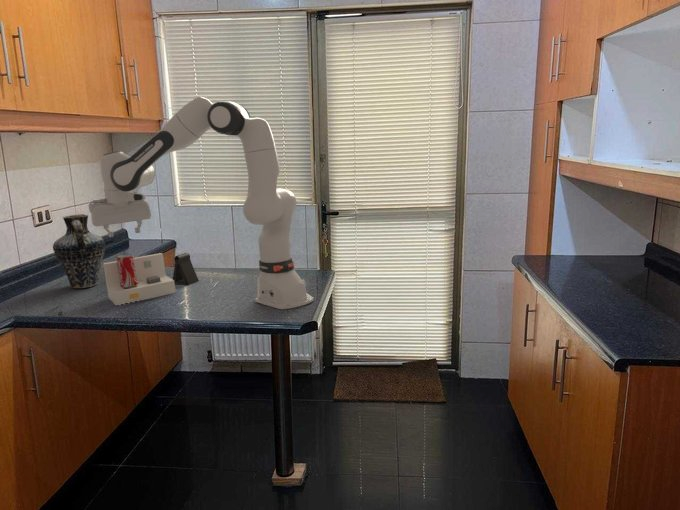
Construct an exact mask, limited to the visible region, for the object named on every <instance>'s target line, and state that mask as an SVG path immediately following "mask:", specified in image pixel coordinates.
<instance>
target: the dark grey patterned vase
mask: <svg viewBox="0 0 680 510" xmlns="http://www.w3.org/2000/svg"><path fill="white" fill-rule="evenodd" d="M62 218H63V221H64V224H65V225H66V231H65V234H64V235H63V236H61V237H60V238H57V239H56V241H54V243H53V244H52V250H53V252H54V255H55V257H56V260H57V261H58V263H59V265H60V266H61V267H62V269H63V271H64V273H65V275H66V277H67V279H68V282H69V285H70V288H72V289H85V288H90V287H93V286H96V285H98V283H99V279H100V277H99V275H100V271H101V267H102V264H103V258H104V256H105V252H106V242H105V240H104V238H103V237H101V236H100V235H97V234H95V233H92V232H90V231H89V228H88V220H89V215H88V214H85V213H84V214H81V213H79V214H71V215H65V216H62Z"/></svg>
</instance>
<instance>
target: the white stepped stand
mask: <svg viewBox="0 0 680 510" xmlns="http://www.w3.org/2000/svg"><path fill="white" fill-rule="evenodd" d="M164 258H165V257H164V254H163V252H161V253H160V252H159V253H154V254H149V255H143V256H137V257H134V259H135V266H136V273H137V279H138V284H137V285H136V286H135V287H133V288H129V289H124V288H123V287H121V286H120V280H119V274H118V268H117V260H115V261H109V262H104V263H103V262H102V265H103V271H104V276H105V283H106V290H107V295H108V299H109V300H110V301H111V302H112V303H113V304H114V305H115V306H116V305H119V306H122V305H121V304H123V305H126V304H125V303H128V304H131V303H130V302H132V303H136V302H135V301H137V302H141V301H145V299H146V300H151V299H154V298H159V297H162V296H166V295H172V294H175V293H176V292H177V291H176V284H175V283H174V280H173V278H171V277H170V276H168V275H167V274H166V268H165V267H166V266H165V259H164ZM153 276H158V277H159V278H160V282H157V283H153V284H148V283H147V278H149V277H153ZM140 300H141V301H140Z"/></svg>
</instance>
